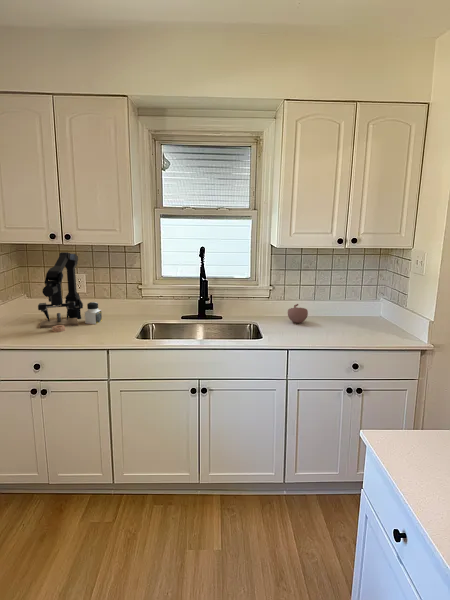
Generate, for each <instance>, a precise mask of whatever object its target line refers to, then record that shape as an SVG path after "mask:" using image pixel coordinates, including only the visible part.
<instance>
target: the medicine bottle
mask: <svg viewBox="0 0 450 600" xmlns="http://www.w3.org/2000/svg"><path fill="white" fill-rule="evenodd" d="M86 305H87V306H86V307H87V309H86V311H84V323H85V324H88V325H98V324H100V323H101V322H102V321H103V318H102V317H103V316H102V314H103V313H102V309H99V303H98V302H96V301H91V302H88V303H87V304H86Z"/></svg>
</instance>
